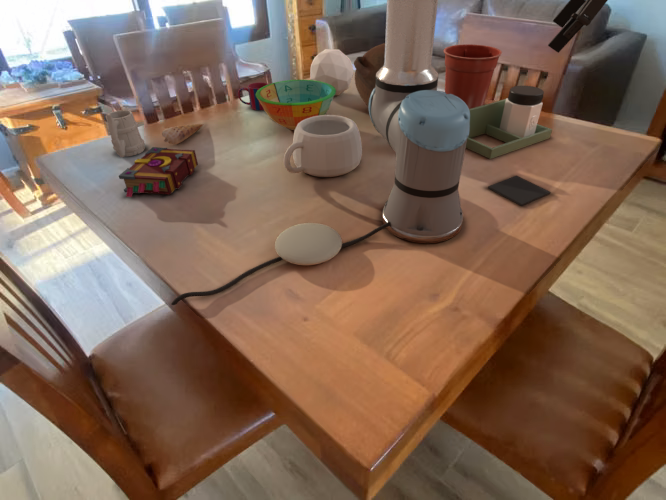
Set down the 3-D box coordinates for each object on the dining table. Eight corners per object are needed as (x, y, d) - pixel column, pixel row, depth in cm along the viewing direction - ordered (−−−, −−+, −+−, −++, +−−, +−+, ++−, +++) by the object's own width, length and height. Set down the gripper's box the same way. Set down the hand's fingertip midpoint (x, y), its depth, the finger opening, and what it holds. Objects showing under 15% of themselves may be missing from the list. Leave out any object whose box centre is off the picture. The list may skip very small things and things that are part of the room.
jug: (356, 101, 140) (374, 154, 120) (345, 41, 126) (364, 90, 105) (417, 85, 139) (446, 135, 119) (413, 23, 124) (445, 68, 104)
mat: (521, 206, 87) (522, 204, 87) (487, 188, 93) (488, 186, 93) (550, 194, 91) (550, 191, 90) (515, 177, 97) (516, 175, 97)
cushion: (278, 231, 82) (277, 218, 80) (341, 229, 82) (340, 216, 80) (272, 271, 73) (270, 258, 71) (343, 270, 73) (343, 256, 71)
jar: (517, 144, 111) (529, 97, 103) (492, 134, 116) (502, 89, 109) (539, 136, 114) (552, 90, 107) (513, 127, 120) (524, 83, 113)
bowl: (351, 128, 122) (351, 92, 116) (283, 148, 112) (279, 110, 106) (310, 107, 137) (308, 74, 131) (247, 123, 127) (242, 88, 121)
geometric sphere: (323, 111, 148) (295, 78, 139) (334, 83, 155) (308, 50, 146) (356, 96, 139) (328, 59, 130) (366, 67, 146) (339, 30, 137)
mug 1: (149, 143, 117) (135, 99, 109) (137, 163, 107) (122, 116, 100) (120, 145, 116) (105, 101, 109) (106, 165, 107) (88, 118, 100)
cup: (270, 110, 135) (267, 88, 131) (239, 111, 135) (235, 89, 131) (272, 103, 141) (270, 81, 137) (242, 104, 141) (239, 82, 137)
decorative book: (199, 166, 105) (195, 147, 102) (169, 199, 93) (163, 179, 90) (157, 163, 107) (151, 145, 104) (121, 196, 94) (114, 176, 91)
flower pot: (481, 118, 126) (493, 60, 116) (429, 109, 133) (435, 54, 123) (496, 101, 137) (508, 47, 127) (447, 94, 144) (454, 42, 134)
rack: (490, 159, 104) (496, 127, 100) (453, 141, 113) (458, 111, 108) (549, 138, 113) (558, 108, 108) (511, 123, 122) (518, 95, 117)
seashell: (159, 149, 113) (154, 131, 110) (199, 125, 127) (195, 108, 124) (173, 152, 112) (168, 133, 109) (212, 126, 126) (208, 109, 123)
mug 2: (328, 144, 114) (327, 107, 107) (376, 163, 104) (377, 123, 98) (264, 171, 102) (258, 131, 96) (311, 196, 92) (308, 153, 86)
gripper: (669, -36, 70) (566, 70, 87) (658, -73, 85) (571, 23, 102) (633, -62, 69) (536, 49, 86) (628, -95, 84) (546, 6, 101)
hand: (555, 36), depth 94 cm, fingers open, 13 cm apart
